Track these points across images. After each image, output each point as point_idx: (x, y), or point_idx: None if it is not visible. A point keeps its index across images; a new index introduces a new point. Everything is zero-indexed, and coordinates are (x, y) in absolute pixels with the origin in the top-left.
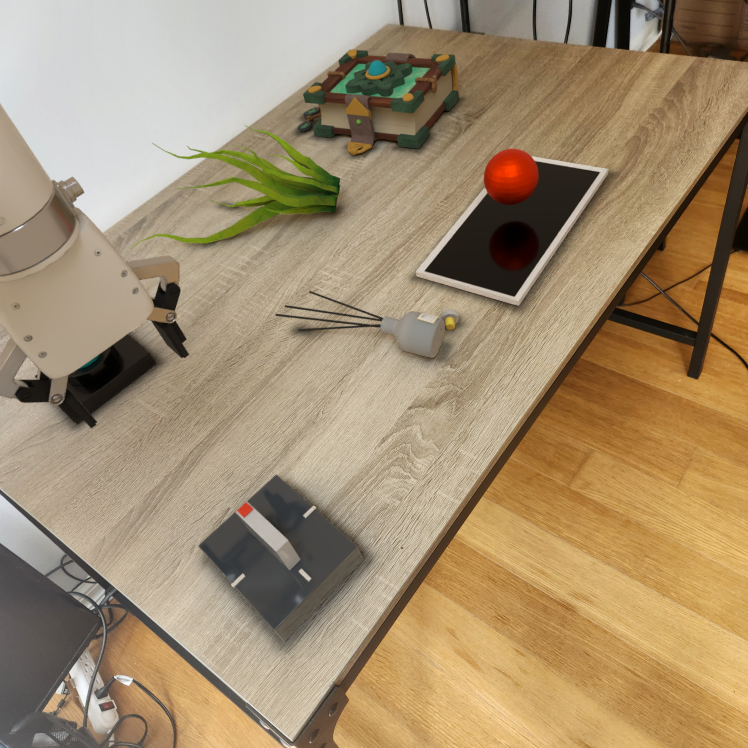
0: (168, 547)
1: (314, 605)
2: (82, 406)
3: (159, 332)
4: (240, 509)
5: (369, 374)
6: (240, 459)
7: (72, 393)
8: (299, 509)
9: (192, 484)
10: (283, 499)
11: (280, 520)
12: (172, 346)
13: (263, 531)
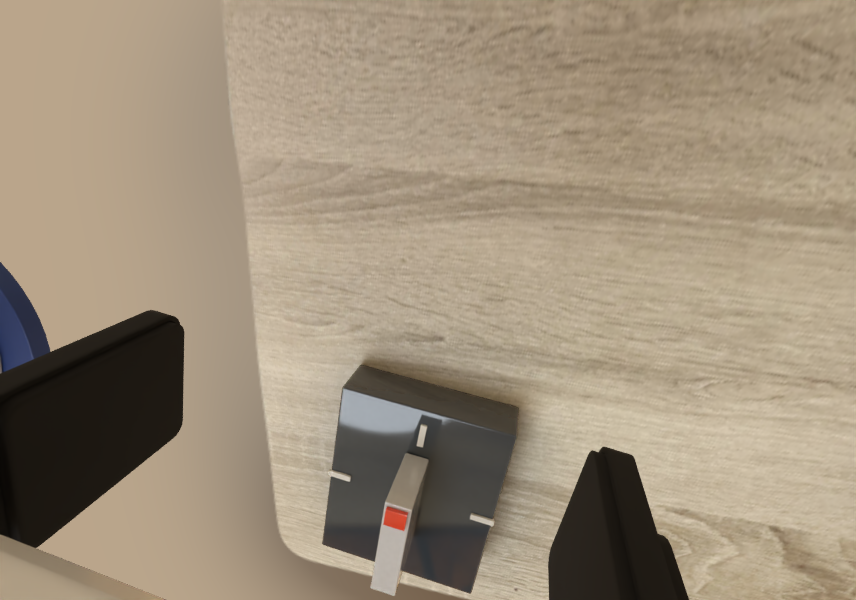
0: (335, 288)
1: None
2: (89, 502)
3: (597, 540)
4: (390, 514)
5: (849, 429)
6: (534, 294)
7: (90, 401)
8: (478, 502)
9: (444, 241)
10: (480, 471)
11: (447, 483)
12: (562, 575)
13: (384, 559)
